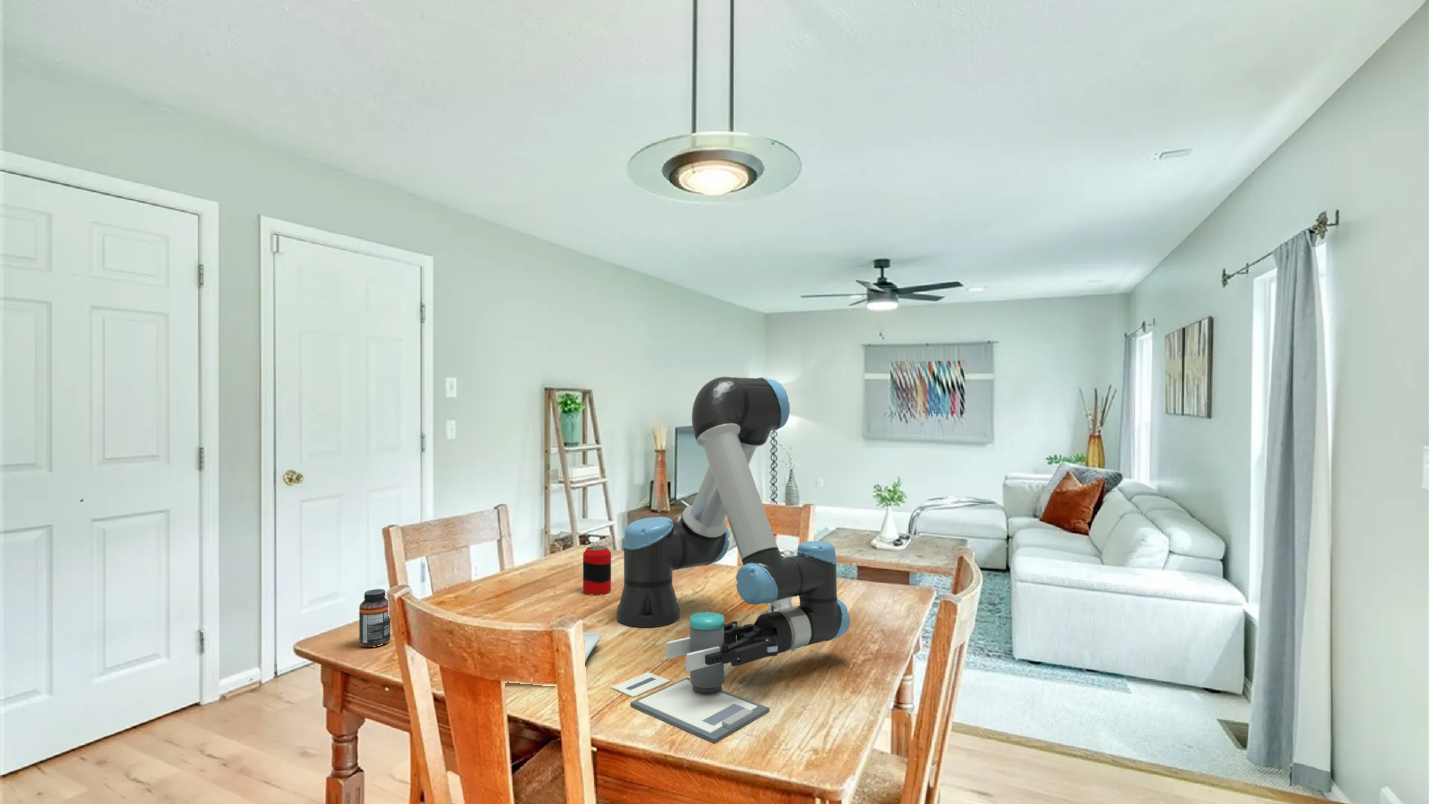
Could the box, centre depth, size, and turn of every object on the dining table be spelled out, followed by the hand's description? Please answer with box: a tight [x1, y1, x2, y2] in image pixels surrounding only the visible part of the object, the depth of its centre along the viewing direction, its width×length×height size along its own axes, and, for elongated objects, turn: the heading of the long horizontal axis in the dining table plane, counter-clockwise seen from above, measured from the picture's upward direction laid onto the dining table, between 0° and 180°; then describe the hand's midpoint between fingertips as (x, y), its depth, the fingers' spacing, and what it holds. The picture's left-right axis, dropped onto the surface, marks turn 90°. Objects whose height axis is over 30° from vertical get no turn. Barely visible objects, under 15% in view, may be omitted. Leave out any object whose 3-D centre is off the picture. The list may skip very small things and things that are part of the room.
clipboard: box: [629, 676, 770, 744], centre depth 112 cm, size 19×14×1 cm
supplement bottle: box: [358, 588, 391, 648], centre depth 142 cm, size 6×6×11 cm
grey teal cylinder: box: [689, 611, 725, 694], centre depth 117 cm, size 6×6×12 cm
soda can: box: [582, 545, 612, 596], centre depth 182 cm, size 8×8×12 cm
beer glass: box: [767, 549, 795, 613], centre depth 164 cm, size 7×7×15 cm
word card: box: [611, 671, 671, 698], centre depth 121 cm, size 6×9×1 cm, turn 139°
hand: (677, 656), depth 114 cm, fingers closed on grey teal cylinder, 6 cm apart
